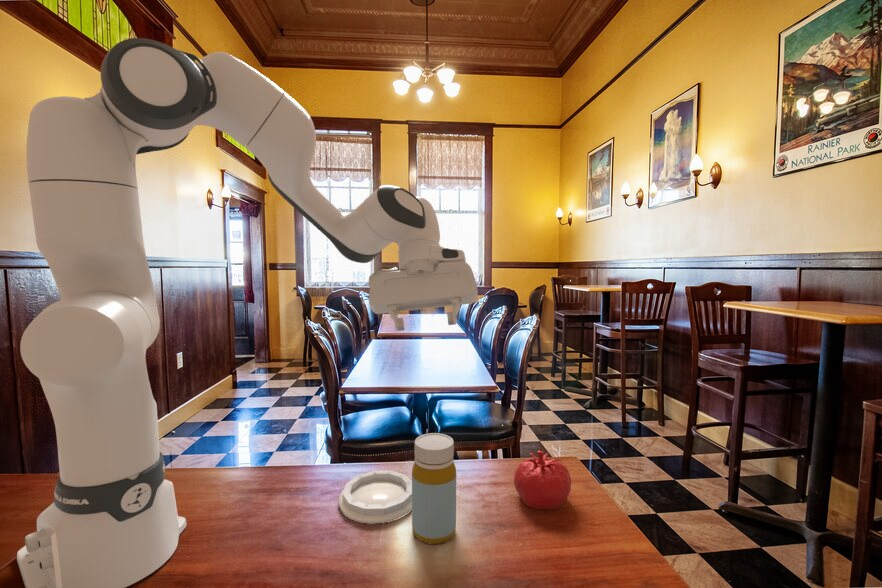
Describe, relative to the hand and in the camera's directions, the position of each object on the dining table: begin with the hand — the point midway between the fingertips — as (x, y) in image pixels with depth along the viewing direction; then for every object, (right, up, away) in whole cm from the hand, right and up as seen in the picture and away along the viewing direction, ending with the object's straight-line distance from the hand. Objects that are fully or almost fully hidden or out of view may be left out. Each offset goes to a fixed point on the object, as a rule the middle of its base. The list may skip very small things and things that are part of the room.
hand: (426, 326), depth 75 cm
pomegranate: (+21, -32, +1) cm, 38 cm away
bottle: (+2, -32, -8) cm, 33 cm away
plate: (-9, -31, +1) cm, 33 cm away
